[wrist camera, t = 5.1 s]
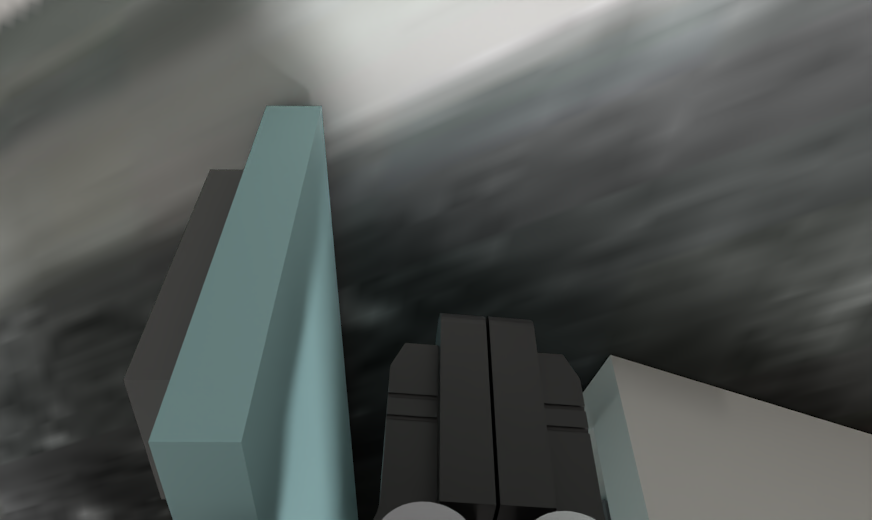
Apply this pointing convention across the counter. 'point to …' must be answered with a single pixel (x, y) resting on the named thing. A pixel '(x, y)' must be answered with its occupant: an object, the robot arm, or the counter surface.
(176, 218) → the counter surface
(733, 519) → the white cabinet box
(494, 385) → the robot arm
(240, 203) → the side door
